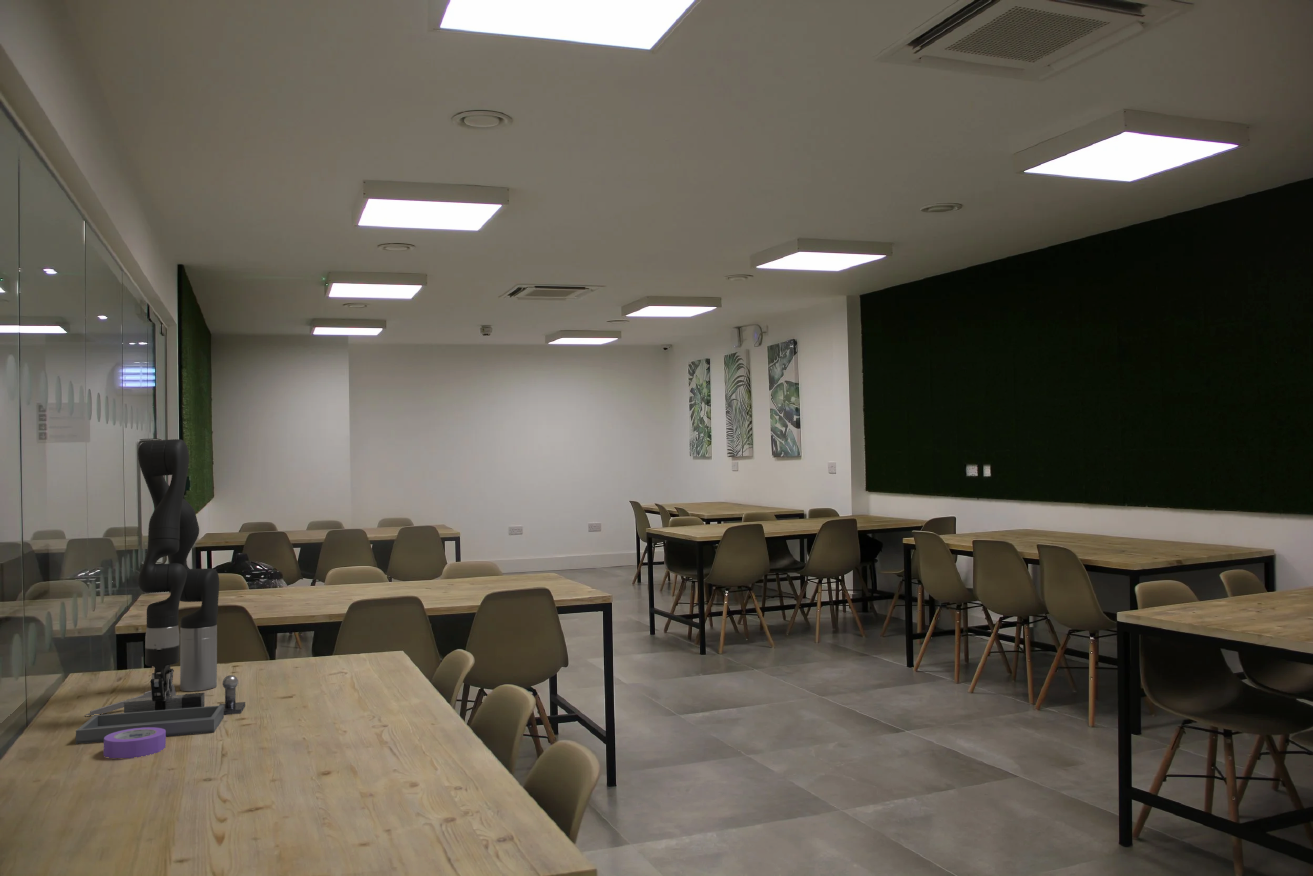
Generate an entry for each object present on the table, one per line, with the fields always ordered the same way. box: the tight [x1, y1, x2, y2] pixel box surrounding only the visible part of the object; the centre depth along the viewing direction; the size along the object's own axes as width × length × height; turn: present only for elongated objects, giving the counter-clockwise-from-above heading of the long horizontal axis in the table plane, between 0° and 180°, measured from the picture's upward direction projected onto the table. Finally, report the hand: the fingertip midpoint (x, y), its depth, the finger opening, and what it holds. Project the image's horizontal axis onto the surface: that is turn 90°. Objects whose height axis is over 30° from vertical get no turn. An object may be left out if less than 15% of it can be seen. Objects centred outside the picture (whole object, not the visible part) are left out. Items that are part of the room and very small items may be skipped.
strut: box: [123, 692, 205, 713], centre depth 230 cm, size 4×17×4 cm, turn 107°
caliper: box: [85, 683, 177, 715], centre depth 237 cm, size 20×1×6 cm, turn 129°
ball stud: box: [218, 674, 246, 715], centre depth 235 cm, size 8×6×9 cm
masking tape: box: [103, 727, 167, 759], centre depth 201 cm, size 12×12×4 cm
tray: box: [75, 704, 225, 745], centre depth 217 cm, size 14×28×3 cm, turn 107°
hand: (162, 714), depth 230 cm, fingers closed on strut, 3 cm apart
